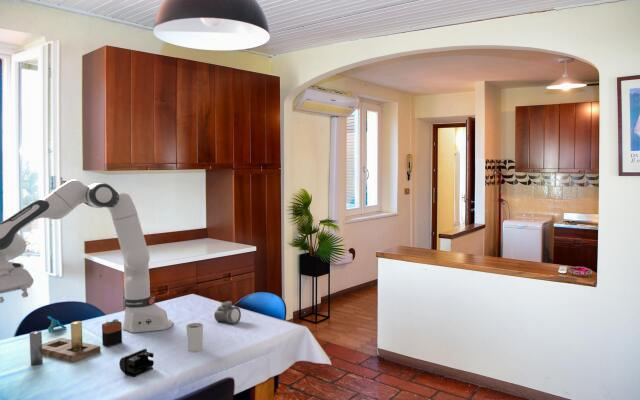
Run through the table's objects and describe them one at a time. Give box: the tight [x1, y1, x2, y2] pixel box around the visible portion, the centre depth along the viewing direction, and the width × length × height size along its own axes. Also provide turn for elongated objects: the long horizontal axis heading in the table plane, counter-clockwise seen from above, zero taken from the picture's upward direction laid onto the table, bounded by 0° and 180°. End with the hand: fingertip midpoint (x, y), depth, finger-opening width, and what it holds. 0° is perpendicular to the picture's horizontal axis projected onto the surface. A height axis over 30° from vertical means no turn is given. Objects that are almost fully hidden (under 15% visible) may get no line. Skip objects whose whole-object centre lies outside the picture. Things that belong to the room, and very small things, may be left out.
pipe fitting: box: [214, 300, 242, 325], centre depth 240 cm, size 12×8×10 cm
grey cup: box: [186, 322, 204, 353], centre depth 203 cm, size 7×7×10 cm
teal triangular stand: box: [47, 315, 67, 333], centre depth 228 cm, size 11×6×10 cm
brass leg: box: [70, 320, 84, 352], centre depth 197 cm, size 4×4×13 cm
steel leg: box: [29, 330, 44, 367], centre depth 189 cm, size 4×4×12 cm
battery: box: [101, 318, 123, 348], centre depth 210 cm, size 4×7×10 cm, turn 142°
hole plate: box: [42, 337, 101, 363], centre depth 200 cm, size 24×12×2 cm, turn 63°
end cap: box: [118, 348, 155, 378], centre depth 181 cm, size 10×7×7 cm
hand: (14, 299), depth 193 cm, fingers open, 8 cm apart
